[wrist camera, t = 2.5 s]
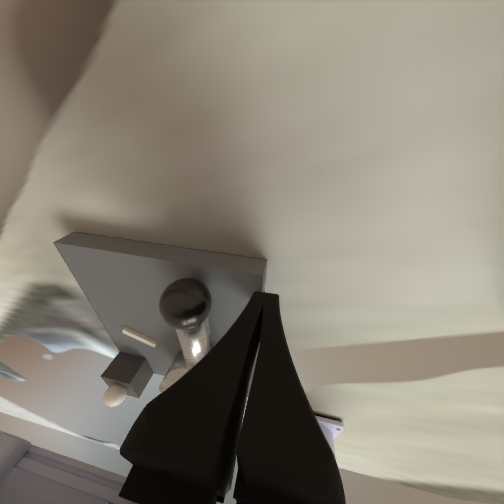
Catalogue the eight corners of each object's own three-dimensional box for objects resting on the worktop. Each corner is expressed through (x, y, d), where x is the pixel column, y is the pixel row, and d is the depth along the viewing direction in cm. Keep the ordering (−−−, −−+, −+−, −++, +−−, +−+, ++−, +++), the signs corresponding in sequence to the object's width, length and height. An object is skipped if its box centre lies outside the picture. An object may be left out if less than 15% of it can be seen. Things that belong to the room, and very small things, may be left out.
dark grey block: (153, 372, 22) (128, 416, 19) (128, 366, 22) (100, 408, 19) (146, 358, 20) (116, 403, 17) (119, 351, 21) (86, 394, 17)
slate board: (256, 381, 21) (252, 401, 20) (138, 353, 23) (127, 369, 22) (267, 259, 12) (262, 279, 11) (74, 231, 14) (48, 244, 13)
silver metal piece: (248, 396, 20) (240, 434, 17) (181, 380, 21) (166, 414, 18) (253, 277, 11) (240, 320, 9) (140, 259, 12) (101, 293, 10)
